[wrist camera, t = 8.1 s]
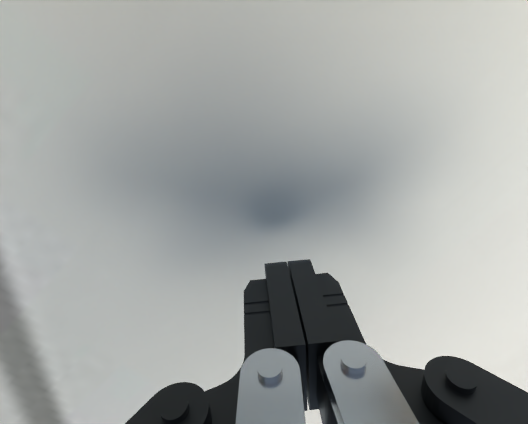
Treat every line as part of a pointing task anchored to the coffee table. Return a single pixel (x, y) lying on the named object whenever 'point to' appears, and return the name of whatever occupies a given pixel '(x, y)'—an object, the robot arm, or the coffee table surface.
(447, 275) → the coffee table surface
